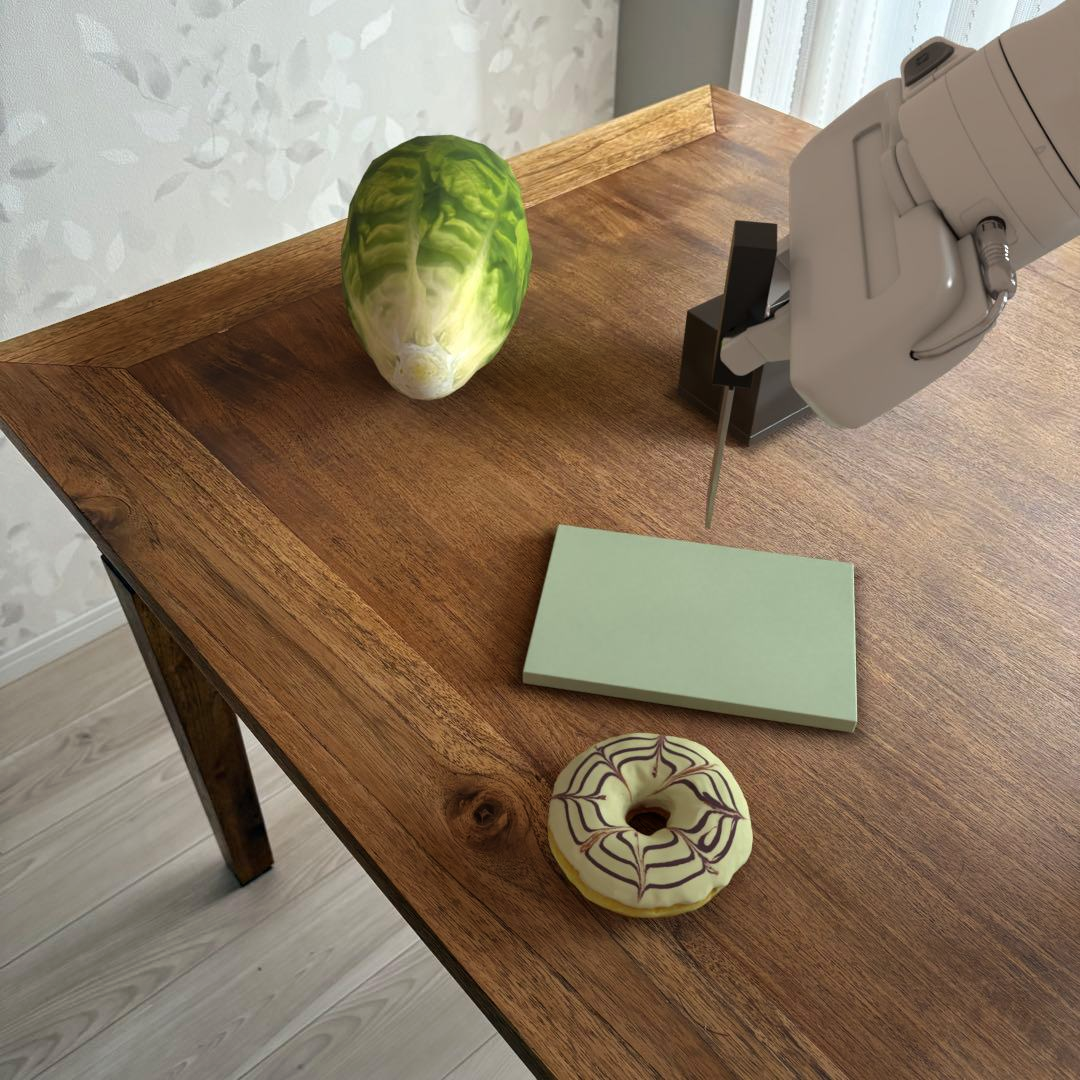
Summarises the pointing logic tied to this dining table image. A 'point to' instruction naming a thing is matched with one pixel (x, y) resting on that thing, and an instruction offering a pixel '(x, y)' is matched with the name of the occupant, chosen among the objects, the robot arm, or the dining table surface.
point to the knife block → (751, 407)
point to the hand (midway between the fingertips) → (729, 335)
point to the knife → (740, 319)
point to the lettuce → (435, 262)
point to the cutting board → (697, 627)
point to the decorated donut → (669, 854)
